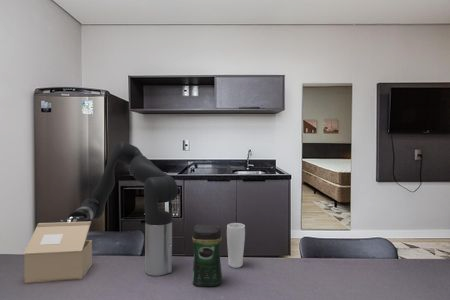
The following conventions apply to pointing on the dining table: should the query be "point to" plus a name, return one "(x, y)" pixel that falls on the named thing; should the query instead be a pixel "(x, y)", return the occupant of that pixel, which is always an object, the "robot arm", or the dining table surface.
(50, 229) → the lid
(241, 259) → the drinking glass
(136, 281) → the dining table surface
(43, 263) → the mailer box
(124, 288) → the dining table surface
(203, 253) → the coffee jar
